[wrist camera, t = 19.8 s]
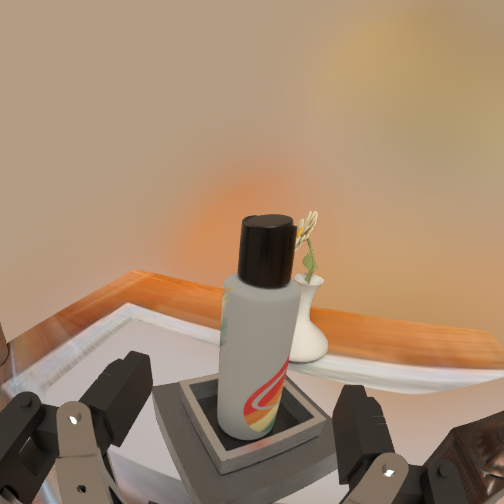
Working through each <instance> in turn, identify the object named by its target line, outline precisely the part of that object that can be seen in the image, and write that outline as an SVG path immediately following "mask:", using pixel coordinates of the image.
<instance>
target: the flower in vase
mask: <svg viewBox="0 0 504 504" xmlns="http://www.w3.org/2000/svg"><path fill="white" fill-rule="evenodd" d="M311 213H312V211H309V213H308V215H307V216H306V218H305V221H304V219H303V218H302V219H301V220H300V221H299V225H298V226H297V236H296V244H295V251H296V250H297V249H298V248H299V247H300V246H301V245H302V244H303V242H304V241H305V240H307V242H308V245H309V248H310V251H311V254H310V252H309V253H308V254H307V255H306V256H305V257H304V259H303V264H304V266H305V267H306V268H307V270H308V271H309V273H308V274H307V273H299V274H295V275H294V280H295V281H296V282H297V283H298V284H299V286H300V288H301V298H300V304H299V310H298V316H297V321H296V327H295V332H294V337H293V342H292V347H291V352H290V357H289V361H292V362H311V361H315V360H317V359H319V358H321V357H322V356H323V355H325V353H326V352H327V350H328V341H327V339H326V337H325V335H324V334H323V333H322V332H321V331H320V330H319V329H318V328H317V327H316V326H315V325H314V324H313V323H312V322H311V321H310V318H309V313H310V307H311V303H312V300H313V297H314V294H315V292H316V291H317V289H318V288H319V287H320V286H321V285H322V284H323V283H324V280H323V279H322V278H321V277H319V276H317V275H313V274H312V273H313V272H314V271H315V270H316V269H317V265H316V263H315V260H314V254H313V250H312V246H311V243H310V241H309V238H308V237H309V235H310V233H311V232H312V230H313V228H314V227H315V225H316V223H317V221H316V220H317V218H318V213H316V210H315V211H314V212H313V213H312V214H311ZM311 255H312V256H311Z"/></svg>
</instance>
